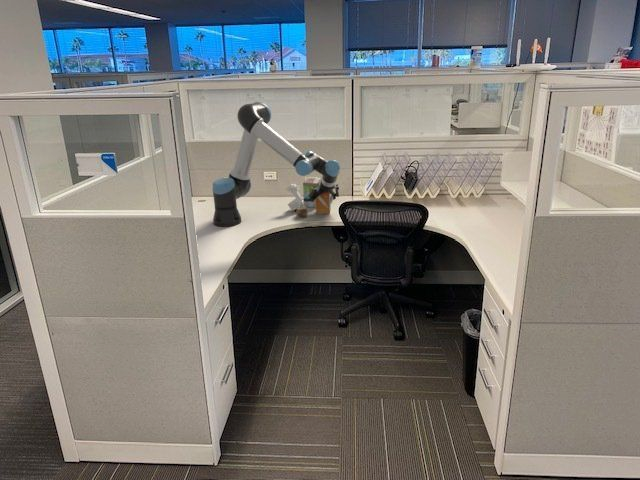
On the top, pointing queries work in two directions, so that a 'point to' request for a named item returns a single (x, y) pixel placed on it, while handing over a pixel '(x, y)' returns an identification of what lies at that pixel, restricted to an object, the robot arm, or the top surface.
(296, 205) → the voxel character
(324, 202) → the small box
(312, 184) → the tea box
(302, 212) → the walnut block
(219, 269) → the top surface
